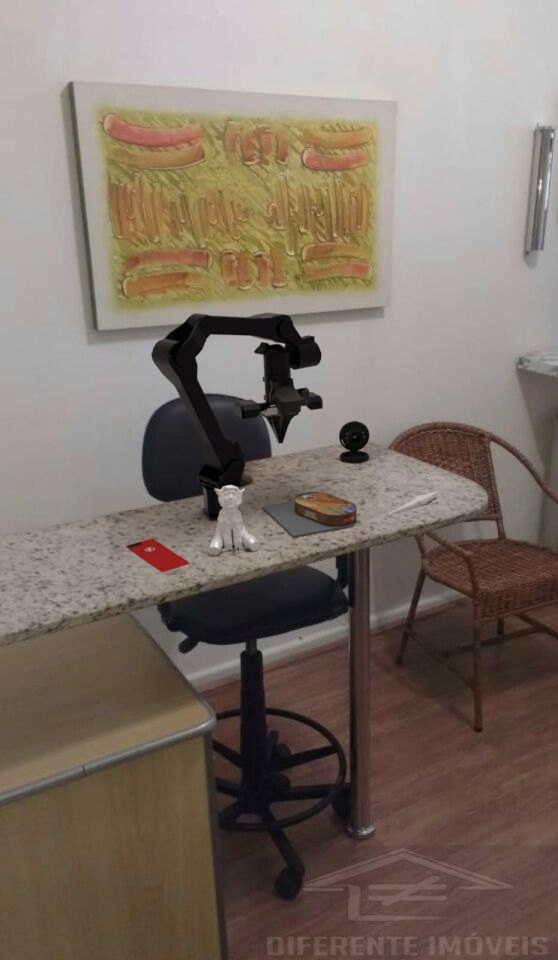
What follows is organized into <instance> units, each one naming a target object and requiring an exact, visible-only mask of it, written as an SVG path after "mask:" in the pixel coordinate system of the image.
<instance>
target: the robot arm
mask: <svg viewBox="0 0 558 960" xmlns="http://www.w3.org/2000/svg"><path fill="white" fill-rule="evenodd" d="M211 335H214V336H215V335H217V336H242V337H243V336H246V337H249V336H250V337H251V338H252V337H253V338H255V339H256V338H257V339H260V340H264V341H271V342H274V344H272V343H271V344H269V343H268V342H264V341H261V342H260V343H259V345H258V346H257V347H256V348H255V349H254V351H253V353H254V354H255V355H261V356H262V357H263V358H262V360H263V376H262V382H263V383H264V394H263V402H256V401H255V400H253V399H244V400H237V401H236V402H235V403H234V404H233V405H234V406H233V409H234V411H233V412H234V415H236V416H237V417H239V418H240V419H243V420H245V419H246V420H247V419H248V420H249V419H254V418H258V417H259V415H260V416H262V417H264V418H265V419H266V421H267V422H268V424H269V426H270V427H271V430H272V432H273V434H274V437H275V439H276V441H277V443H278V444H279V445H280V444H283V443H284V440H285V439H286V438H285V437H286V434H287V431H288V429H289V425H290V423H291V421H292V420H293V419H294V417H296V416H299V413H301V410H302V407H305V406H306V408H307V409H309V410H310V411H315V410H322V409H323V408H324V401H323V398H322V397H321V395H319V394H317V393H315V392H312V391H310V390H309V388H308V387H307V386H306V387H299V388H295V384H294V379H293V378H292V376H291V375H292V373H291V372H292V371H291V370H296V371H297V370H302V369H306V368H312V367H317V366H318V365H319V364H320V363H321V362H322V351H321V348H320V346H319V345H318V342H316V340H315V336H314V335H309V334H308V335H303V336H301V334H300V333H299V332H298V330H297V329H296V327H295V326H294V321H293V320H292V317H291V316H290V315H289V314H286V313H285V314H284V313H274V312H263V313H262V312H261V313H258V314H257V313H256V314H254V315H251V316H233V315H232V316H231V315H229V316H227V315H210V314H207V313H206V314H204V313H192V314H191V315H190V316H188V318H186V319H185V321H183V323H181V324H180V325H179V326H177V327H175V328H174V329H172V330H170V332H169V333H167V335H166V336H165V337H164V338H161V339H160V340H158V341H157V342H156V343H154V346H153V348H152V351H151V353H150V355H151V359H152V362H153V363H154V365H155V366H156V367H157V369H158V370H159V371H160V373H161V374H162V375H163V376H164V377H165V379H167V380H168V382H170V383H171V384H172V385H173V386H174V388H175V390H176V392H177V394H178V396H179V397H180V400H181V402H182V403H183V406H184V408H185V409H186V412H187V413H188V416H189V418H190V420H191V422H192V424H193V426H194V428H195V430H196V432H197V434H198V436H199V438H200V441H201V442H202V458H203V461H204V463H203V464H202V466H201V467H200V469H199V470H198V472H197V473H196V476H195V477H196V480H197V481H198V484H200V485H202V492H203V493H202V495H203V507H202V512H203V513H204V515H206V517H207V518H208V519H209V520H210V521H211V520H213V521H214V520H217V519H218V517H219V512H220V511H221V509H222V508H223V507H222V506H220V503H219V500H218V497H219V496H218V495H217V493H216V491H215V490H214V489H219V490H221V489H222V487H224V486H227V485H228V486H229V485H233V486H236V487H238V488H240V486H241V481H242V478H243V473H244V470H245V468H246V460H245V458H247V456H246V454H244V453H243V451H242V447H241V444H240V443H239V441H238V440H236V439H233V438H229V437H227V436H225V434H224V432H223V430H222V427H221V426H220V424H219V422H218V420H217V418H216V415H215V414H214V411H213V409H212V407H211V404H210V403H209V400H208V398H207V396H206V394H205V392H204V390H203V387H202V386H201V384H200V381H199V379H198V372H199V369H198V368H199V367H198V365H199V364H198V361H197V356H199V354H200V353H201V352H202V351H203V350H204V348H205V345H206V342H207V339H208V338H209V337H210V336H211ZM283 345H284V346H283ZM238 509H239V510H240V506H239V507H238Z"/></svg>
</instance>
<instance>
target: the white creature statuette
mask: <svg viewBox="0 0 558 960" xmlns="http://www.w3.org/2000/svg"><path fill="white" fill-rule="evenodd" d="M239 488H240V487H239ZM239 488H238V487H236V486H233V485H229V486H228V485H227V486H224V487H222V489H221V490H219V489H214V490H215V491H216V493H217V495H218V496H219V497H218V500H219V503H220V506H222V507H223V508H222V509H221V511H220V512H219V517H218V519H216V520H217V523H216V527H215V528H216V529H215V532H214V537H213V539H212V540H211V541H210V544H209V546H208V553H209V555H210V556H214V557H215V556H219V554H220V553H225V552H229V550H230V551H231V552H232V551H233V550H235V551H238V550H239V551H242V550H246V549H248V550H250V551H252V552H257V551H258V550H259V547H260V546H259V545H260V544H259V541H258V540H257V539H256V537H255V536H254V535H252V534H250V533H249V532H248V530H247V529H246V528H245V524H244V522H243V521H244V519H243V517H242V513H241V511H240V506H241V504H243V496H244V493H245V490H246V488H242V489H239ZM238 507H239V509H238ZM233 546H234V547H233Z"/></svg>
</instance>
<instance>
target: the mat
mask: <svg viewBox="0 0 558 960" xmlns="http://www.w3.org/2000/svg"><path fill="white" fill-rule="evenodd" d="M261 508H262V509H263V510H264V511H265V512H266V513H267V514H268V515H269V516H270V517H271V518H272V519H273V520H274V521H275V522H276V523H277V524H278V525H279V526H281V528H283V530H285V531H286V533H287V534H289V535H290V536H291V537H292V538H301V537H304V536H309V535H314V534H320V533H324V532H325V533H326V532H330V531H335V530H340V529H345V528H351V527H352V528H353V527H354V523H352V522H350V523H347V524H344V525H340V526H331V525H326V524H322V523H320V522H317V521H315V520H312V519H310V518H308V517H305V516H303V515H300V514H298V513H297V512H296V510H295V501H294V500H289V501H283V502H277V503H271V504H266V505H265V504H264V505H262V506H261Z"/></svg>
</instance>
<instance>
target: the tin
mask: <svg viewBox="0 0 558 960" xmlns="http://www.w3.org/2000/svg"><path fill="white" fill-rule="evenodd" d="M293 501H295V510H296V512H297V513H298V514H300V515H303V516H305V517H308V518H310V519H312V520H315V521H317V522H320V523H322V524H326V525H331V526H340V525H344V524H347V523H350V522H351V523H352V522H354V521H356V520H357V510H358V506H357V505H356V504H355V503H354V502H352V501H349V500H346V499H343V498H341V497H339V496H336V495H333V494H330V493H327V492H321V491H309V492H303V493H299V494H297V495H296V496H295V497H294V500H293Z"/></svg>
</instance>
